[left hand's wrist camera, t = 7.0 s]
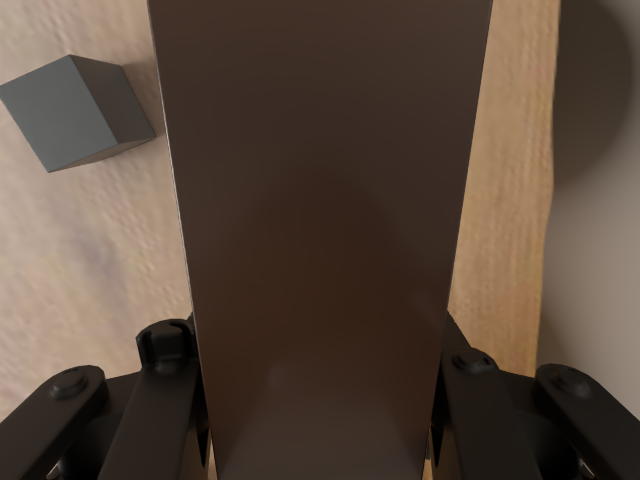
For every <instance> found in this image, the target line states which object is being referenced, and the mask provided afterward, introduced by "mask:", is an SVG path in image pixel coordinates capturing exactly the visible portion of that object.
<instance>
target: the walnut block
mask: <svg viewBox="0 0 640 480" xmlns="http://www.w3.org/2000/svg"><path fill="white" fill-rule="evenodd" d="M492 4H493V0H147V6H148V13H149V20H150V27H151V33H152V40H153V47H154V54H155V60H156V67H157V74H158V81H159V87H160V94H161V101H162V108H163V114H164V121H165V128H166V135H167V141H168V148H169V155H170V162H171V168H172V175H173V182H174V189H175V195H176V202H177V209H178V216H179V222H180V229H181V236H182V243H183V249H184V256H185V263H186V270H187V276H188V283H189V290H190V297H191V303H192V310H193V317H194V324H195V330H196V337H197V344H198V351H199V357H200V364H201V371H202V378H203V384H204V391H205V398H206V405H207V411H208V418H209V425H210V432H211V438H212V445H213V452H214V459H215V466H216V472H217V479H218V480H422V477H423V470H424V463H425V456H426V450H427V443H428V436H429V429H430V423H431V416H432V409H433V402H434V396H435V389H436V382H437V375H438V369H439V362H440V355H441V348H442V342H443V335H444V328H445V321H446V315H447V308H448V301H449V294H450V287H451V281H452V274H453V267H454V260H455V254H456V247H457V240H458V233H459V227H460V220H461V213H462V206H463V200H464V193H465V186H466V179H467V173H468V166H469V159H470V152H471V146H472V139H473V132H474V125H475V118H476V112H477V105H478V98H479V91H480V85H481V78H482V71H483V64H484V58H485V51H486V44H487V37H488V31H489V24H490V17H491V10H492Z"/></svg>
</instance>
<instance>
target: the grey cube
mask: <svg viewBox="0 0 640 480" xmlns="http://www.w3.org/2000/svg"><path fill="white" fill-rule="evenodd" d="M0 99H1V101H2V102H3V104H4V105H5V107H6V108H7V110H8V112H9V113H10V115H11V116H12V118H13V119H14V121H15V123H16V124H17V126H18V127H19V129H20V130H21V132H22V134H23V135H24V137H25V138H26V140H27V141H28V143H29V145H30V146H31V148H32V149H33V151H34V152H35V154H36V156H37V157H38V159H39V160H40V162H41V163H42V165H43V166H44V168H45V170H46V171H47V172H48V173H50V172H55V171H59V170H63V169H68V168H72V167H76V166H81V165H85V164H89V163H93V162H98V161H100V160H103V159H105V158H108V157H110V156H113V155H115V154H118V153H120V152H123V151H125V150H127V149H130V148H132V147H135V146H137V145H140V144H142V143H145V142H147V141H150V140H152V139H155V138H156V135H155V133H154V132H153V130H152V128H151V126H150V124H149V122H148V120H147V118H146V116H145V114H144V112H143V110H142V108H141V106H140V104H139V102H138V100H137V98H136V96H135V94H134V92H133V90H132V88H131V86H130V84H129V82H128V81H127V79H126V77H125V75H124V73H123V71H122V69H121V67H120V65H116V64H111V63H107V62H102V61H98V60H93V59H88V58H84V57H79V56H75V55H70V54H69V55H67V56H65V57H63V58H60V59H58V60H56V61H54V62H52V63H49V64H47V65H45V66H43V67H41V68H38V69H36V70H34V71H32V72H30V73H27V74H25V75H23V76H21V77H18V78H16V79H14V80H12V81H10V82H7V83H5V84H3V85H1V86H0Z"/></svg>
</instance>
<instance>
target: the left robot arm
mask: <svg viewBox="0 0 640 480" xmlns="http://www.w3.org/2000/svg"><path fill="white" fill-rule="evenodd" d="M136 342H137V346H138V351H139V355H140V360H141V364H142V368H141V370H140V371H139V372H135V373H132V374H128V375H123V376H119V377H114V378H110V379H106V378H105V374H104V371H103V370H102V369H101V368H99V367H97V366H92V365H85V366H77V367H73V368H70V369H67V370H64V371H62V372H60V373H58V374H56V375H54V376H52V377H51V378H50V379H48V380H47V381H46V382H44V383H43V384H42V385H41V386H40V387H38V388H37V389H36V390H35V391H34V392H33V393H32V394H31V395H30V396H29V397H28V398H27V399H26V400H25V401H24V402H23V403H21V404H20V405H19V406H18V407H17V408H16V409H15V410H14V411H13V412H12V413H11V414H10V415H9V416H8V417H7V418H5V419H4V420H3V421H2V422H1V423H0V480H207V477H208V467H209V456H210V446H211V432H210V425H209V418H208V411H207V405H206V398H205V391H204V384H203V378H202V371H201V364H200V357H199V351H198V344H197V337H196V330H195V324H194V317H193V311H192V313H191V316H189V317H188V319H187V320H184V319H168V320H163V321H159V322H157V323H154V324H152V325H149V326H148V327H146V328H145V329H143V330H142V331H141V332H140V333H139V334H138V335H137V337H136ZM430 457H431V466H432V476H433V480H640V421H639V420H638V419H637V418H636V417H635V416H633V415H632V414H631V413H630V412H629V411H628V410H627V409H626V408H625V407H624V406H623V405H622V404H621V403H620V402H619V401H617V400H616V399H615V398H614V397H613V396H612V395H611V394H610V393H609V392H608V391H607V390H606V389H605V388H603V387H602V386H601V385H600V384H599V383H598V382H597V381H595V380H594V379H593V378H591V377H590V376H589V375H587V374H585V373H583V372H581V371H579V370H577V369H575V368H572V367H568V366H565V365H560V364H545V365H541V366H540V367H539V368H538V369H537V370H536V373H535V377H534V378H532V377H528V376H523V375H518V374H514V373H509V372H506V371H503V370H500V369H499V367H498V365H497V364H496V363H495V361H494V360H493V359H492V358H491V357H490V356H489V355H487V354H486V353H484V352H482V351H480V350H478V349H476V348H472V347H471V346H470V344H469V343H468V341H467V340H466V338H465V337H464V335H463V334H462V332H461V330H460V329H459V327H458V326H457V324H456V323H455V322H454V319H453V318H452V316H451V315H449V312H448V310H447V315H446V321H445V328H444V335H443V342H442V348H441V355H440V362H439V369H438V375H437V382H436V389H435V396H434V402H433V409H432V416H431V425H430V432H429V439H428V445H427V452H426V459H428V460H430ZM583 463H585V464H586V465H587V467H588V468H589V469H590V470H591V472H592V473H593V474H594V476H593V475H592V474H591V473H590V472H589V470H588V469H587V468H586V467H585V465H584V464H583ZM56 464H57V466H56V467H55V468H54V466H55V465H56ZM53 468H54V470H53V471H52V472H51V473H50V471H51V470H52V469H53ZM49 473H50V474H49ZM48 474H49V475H48ZM47 475H48V476H47ZM46 476H47V477H46Z"/></svg>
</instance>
